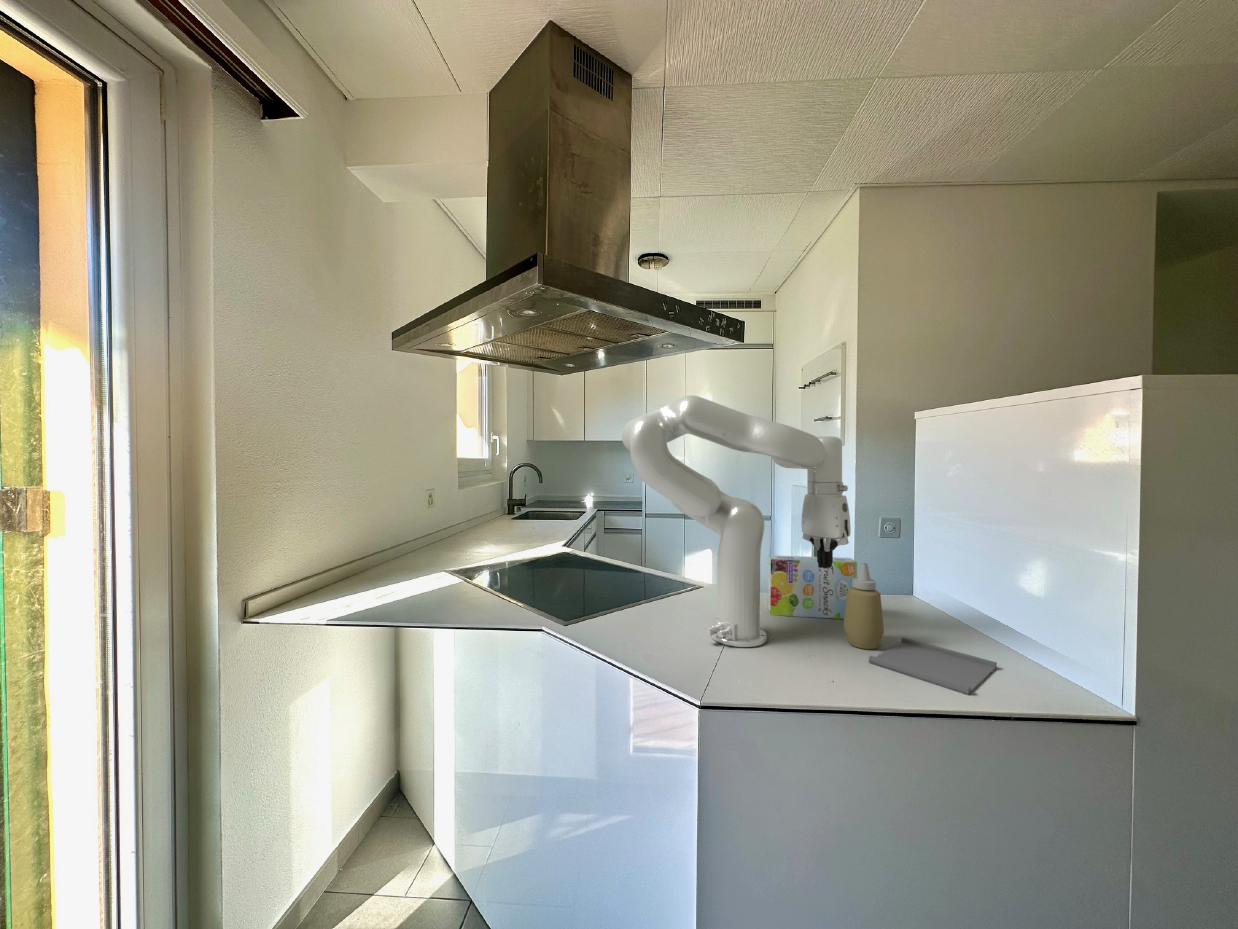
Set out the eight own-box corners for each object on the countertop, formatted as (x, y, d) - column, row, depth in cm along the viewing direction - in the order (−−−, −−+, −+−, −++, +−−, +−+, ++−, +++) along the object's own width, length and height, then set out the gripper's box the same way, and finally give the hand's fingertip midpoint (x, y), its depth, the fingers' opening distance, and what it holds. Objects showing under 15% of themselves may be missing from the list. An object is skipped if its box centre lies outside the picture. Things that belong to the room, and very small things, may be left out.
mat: (968, 695, 86) (968, 688, 86) (868, 662, 99) (868, 656, 99) (996, 668, 97) (996, 662, 97) (903, 642, 110) (903, 637, 110)
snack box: (850, 613, 129) (851, 557, 129) (857, 621, 124) (858, 561, 124) (767, 609, 133) (767, 553, 133) (769, 615, 128) (770, 558, 127)
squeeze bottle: (837, 637, 113) (838, 559, 112) (874, 638, 112) (875, 560, 111) (850, 651, 105) (851, 567, 104) (890, 653, 104) (891, 568, 103)
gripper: (864, 490, 111) (864, 570, 112) (803, 486, 123) (804, 559, 123) (848, 492, 107) (848, 576, 107) (786, 488, 118) (787, 564, 119)
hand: (824, 567), depth 115 cm, fingers closed
